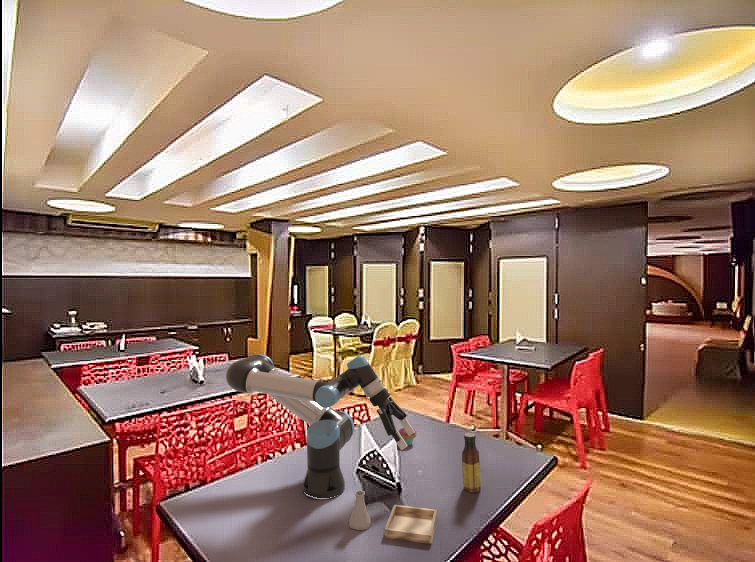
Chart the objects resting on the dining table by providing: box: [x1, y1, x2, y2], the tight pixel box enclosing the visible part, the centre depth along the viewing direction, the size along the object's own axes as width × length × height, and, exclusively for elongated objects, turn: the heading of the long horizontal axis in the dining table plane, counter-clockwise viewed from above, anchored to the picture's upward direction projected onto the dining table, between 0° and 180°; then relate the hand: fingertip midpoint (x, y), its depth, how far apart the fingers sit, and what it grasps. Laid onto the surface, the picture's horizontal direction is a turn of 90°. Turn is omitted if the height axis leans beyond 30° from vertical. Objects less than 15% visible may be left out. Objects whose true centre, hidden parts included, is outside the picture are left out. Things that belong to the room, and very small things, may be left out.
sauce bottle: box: [461, 432, 482, 493], centre depth 157 cm, size 6×6×20 cm
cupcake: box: [398, 416, 417, 446], centre depth 200 cm, size 9×8×12 cm
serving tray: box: [383, 504, 438, 545], centre depth 135 cm, size 14×14×2 cm
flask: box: [348, 489, 372, 531], centre depth 136 cm, size 7×7×10 cm
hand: (408, 440), depth 163 cm, fingers open, 13 cm apart
